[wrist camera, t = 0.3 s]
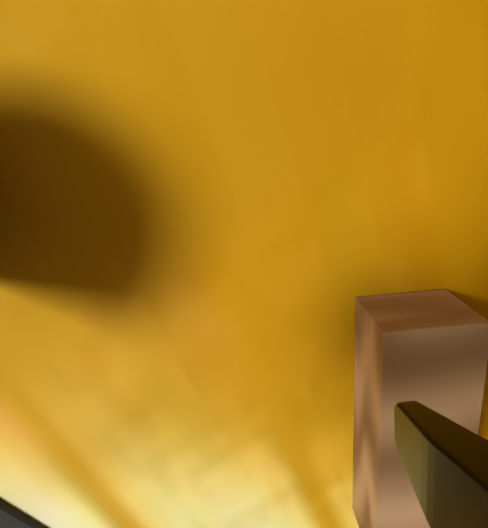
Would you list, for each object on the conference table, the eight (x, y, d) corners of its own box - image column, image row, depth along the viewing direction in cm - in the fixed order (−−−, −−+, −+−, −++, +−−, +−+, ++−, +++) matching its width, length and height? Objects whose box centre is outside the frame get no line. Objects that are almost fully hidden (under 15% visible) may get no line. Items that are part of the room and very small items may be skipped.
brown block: (425, 496, 28) (462, 562, 24) (351, 504, 28) (375, 572, 24) (443, 286, 24) (492, 322, 19) (353, 294, 23) (383, 332, 19)
